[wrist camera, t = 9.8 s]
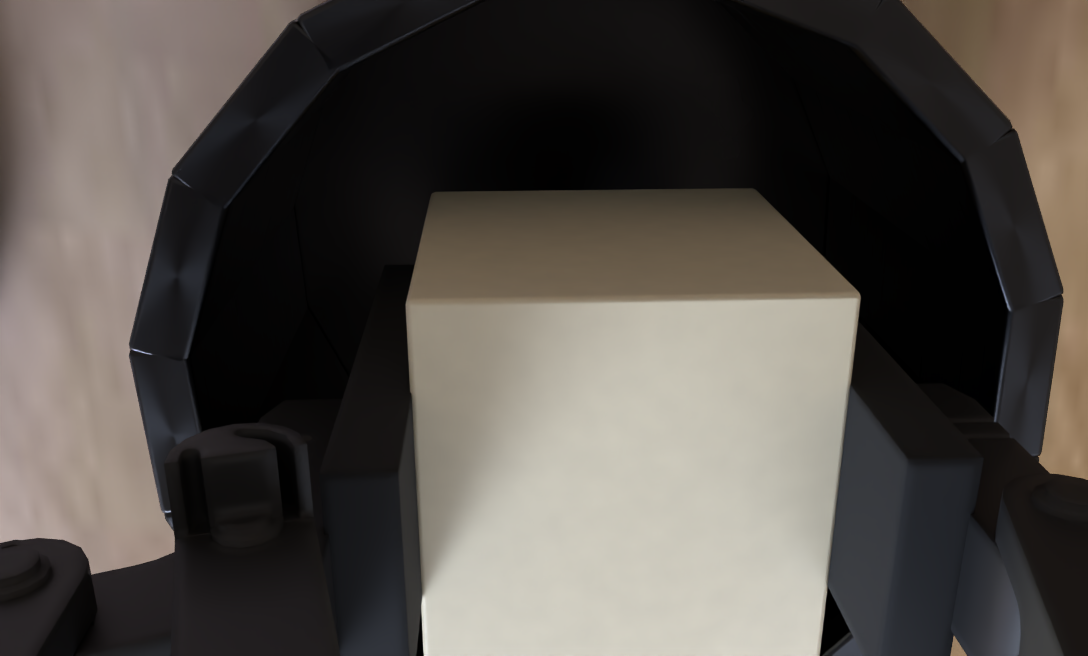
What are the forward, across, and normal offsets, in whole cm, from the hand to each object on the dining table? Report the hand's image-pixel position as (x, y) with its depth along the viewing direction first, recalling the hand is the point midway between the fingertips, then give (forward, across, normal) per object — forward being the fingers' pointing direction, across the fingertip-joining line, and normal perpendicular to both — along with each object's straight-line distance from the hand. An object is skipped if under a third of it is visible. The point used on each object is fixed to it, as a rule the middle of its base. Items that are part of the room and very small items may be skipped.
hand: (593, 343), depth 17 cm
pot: (+6, 0, 0) cm, 6 cm away
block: (0, 0, 0) cm, 0 cm away
